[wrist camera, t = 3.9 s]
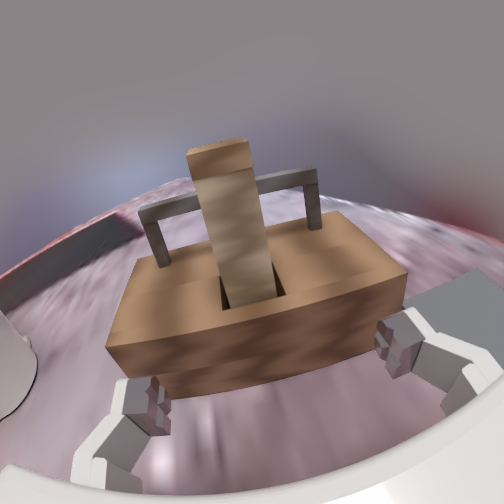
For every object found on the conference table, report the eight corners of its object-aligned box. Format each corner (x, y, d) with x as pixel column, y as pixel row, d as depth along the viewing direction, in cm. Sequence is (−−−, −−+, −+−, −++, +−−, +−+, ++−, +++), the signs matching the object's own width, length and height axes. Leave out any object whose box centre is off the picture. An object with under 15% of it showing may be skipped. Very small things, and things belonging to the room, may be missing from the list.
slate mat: (471, 402, 14) (473, 399, 14) (399, 306, 26) (400, 302, 26) (543, 335, 15) (545, 331, 14) (476, 271, 27) (477, 267, 27)
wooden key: (240, 340, 22) (185, 155, 15) (236, 312, 25) (190, 149, 18) (283, 329, 22) (248, 140, 15) (274, 302, 26) (241, 136, 18)
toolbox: (148, 401, 22) (62, 279, 15) (161, 310, 34) (118, 209, 27) (394, 340, 23) (414, 193, 16) (340, 267, 35) (332, 157, 28)
